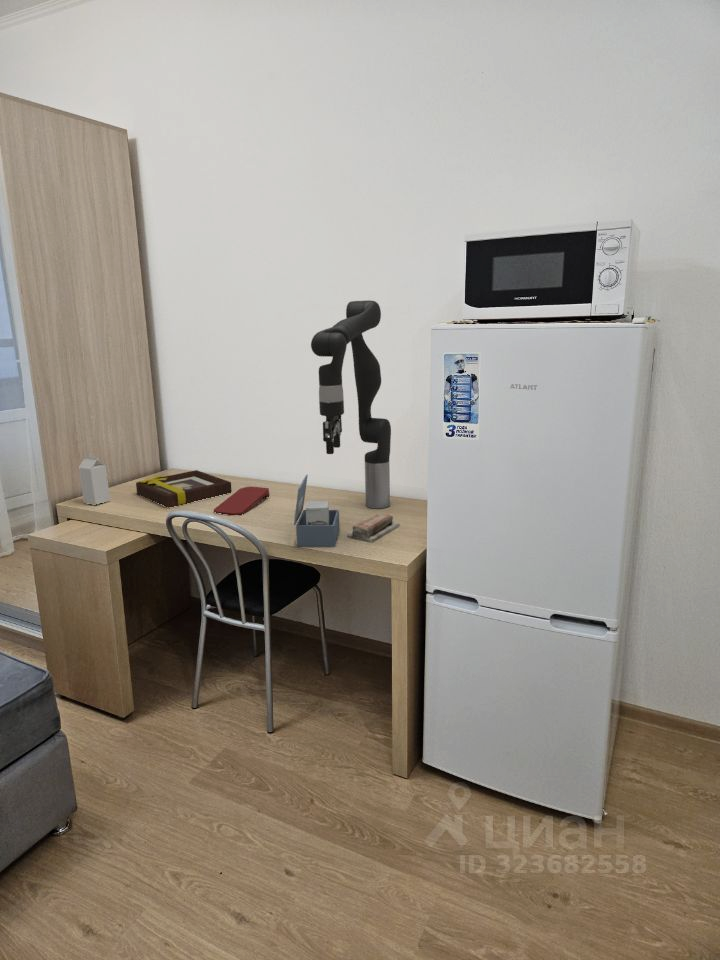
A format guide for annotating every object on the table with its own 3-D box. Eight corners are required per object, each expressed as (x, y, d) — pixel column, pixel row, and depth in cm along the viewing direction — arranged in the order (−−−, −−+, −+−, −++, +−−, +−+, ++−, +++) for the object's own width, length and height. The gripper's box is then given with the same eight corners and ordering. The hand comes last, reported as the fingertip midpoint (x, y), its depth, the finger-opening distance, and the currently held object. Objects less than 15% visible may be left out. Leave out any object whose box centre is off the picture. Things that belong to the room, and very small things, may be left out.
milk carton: (95, 506, 249) (89, 459, 244) (83, 504, 253) (76, 457, 248) (110, 501, 255) (104, 455, 250) (98, 499, 259) (92, 453, 254)
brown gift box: (167, 493, 242) (133, 479, 264) (168, 510, 244) (135, 494, 265) (231, 479, 260) (195, 466, 282) (232, 494, 262) (196, 481, 283)
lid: (303, 509, 216) (301, 508, 216) (307, 474, 213) (306, 474, 213) (295, 525, 200) (293, 525, 200) (300, 488, 197) (298, 488, 197)
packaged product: (372, 529, 203) (346, 524, 208) (372, 544, 204) (346, 538, 209) (400, 513, 217) (375, 509, 223) (400, 527, 219) (375, 522, 224)
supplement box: (306, 545, 203) (304, 507, 200) (307, 537, 210) (306, 500, 207) (329, 544, 203) (328, 507, 200) (330, 536, 210) (328, 500, 207)
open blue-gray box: (304, 529, 218) (303, 509, 216) (339, 529, 217) (338, 509, 215) (297, 546, 202) (296, 525, 200) (334, 546, 201) (334, 525, 200)
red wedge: (241, 526, 235) (274, 497, 255) (239, 514, 233) (272, 486, 254) (213, 522, 239) (248, 494, 260) (211, 510, 237) (246, 483, 258)
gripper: (325, 395, 203) (327, 445, 208) (313, 403, 190) (315, 455, 194) (348, 395, 202) (350, 445, 206) (337, 403, 188) (339, 456, 193)
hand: (333, 450), depth 200 cm, fingers open, 8 cm apart
